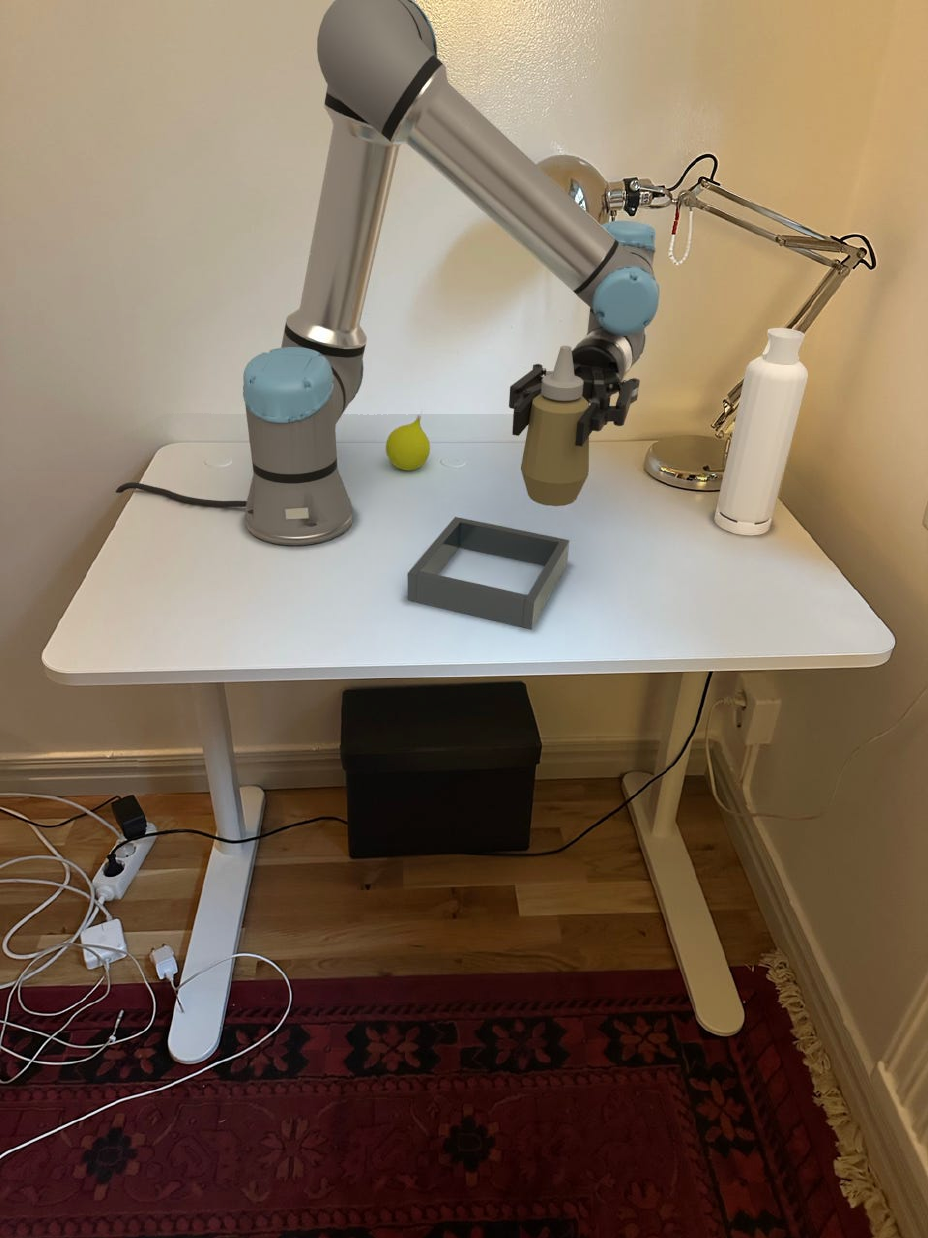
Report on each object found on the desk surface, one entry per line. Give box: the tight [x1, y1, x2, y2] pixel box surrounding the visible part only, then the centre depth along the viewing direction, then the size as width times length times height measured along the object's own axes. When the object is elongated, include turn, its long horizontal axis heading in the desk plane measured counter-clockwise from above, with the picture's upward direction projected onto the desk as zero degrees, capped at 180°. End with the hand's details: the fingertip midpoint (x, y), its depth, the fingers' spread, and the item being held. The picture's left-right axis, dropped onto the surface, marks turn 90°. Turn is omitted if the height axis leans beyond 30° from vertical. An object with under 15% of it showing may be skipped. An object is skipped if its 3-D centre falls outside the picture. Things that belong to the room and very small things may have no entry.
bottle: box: [713, 327, 809, 536], centre depth 124 cm, size 8×8×28 cm
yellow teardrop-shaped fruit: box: [385, 410, 431, 471], centre depth 141 cm, size 7×7×10 cm
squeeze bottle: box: [520, 345, 590, 507], centre depth 101 cm, size 8×8×18 cm
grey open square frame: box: [406, 516, 571, 630], centre depth 114 cm, size 16×16×4 cm
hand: (547, 428), depth 96 cm, fingers closed on squeeze bottle, 6 cm apart
